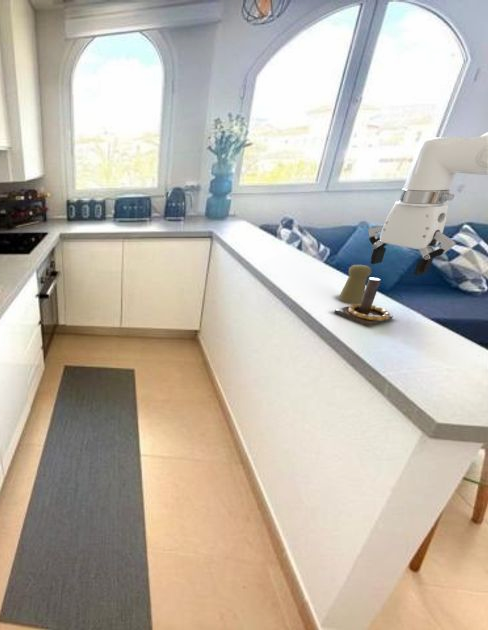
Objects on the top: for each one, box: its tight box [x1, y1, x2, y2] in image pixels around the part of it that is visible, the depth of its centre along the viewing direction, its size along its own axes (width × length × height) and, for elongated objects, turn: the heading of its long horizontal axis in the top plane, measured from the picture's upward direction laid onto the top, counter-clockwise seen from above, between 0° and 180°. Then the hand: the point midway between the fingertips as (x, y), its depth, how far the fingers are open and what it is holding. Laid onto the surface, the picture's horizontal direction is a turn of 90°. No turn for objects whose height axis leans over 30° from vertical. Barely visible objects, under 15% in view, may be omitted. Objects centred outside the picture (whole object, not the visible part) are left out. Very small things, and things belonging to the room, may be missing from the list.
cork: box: [338, 264, 372, 305], centre depth 104 cm, size 6×6×11 cm
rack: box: [334, 277, 394, 327], centre depth 94 cm, size 9×9×11 cm
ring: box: [348, 303, 391, 321], centre depth 95 cm, size 9×9×1 cm
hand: (396, 268), depth 86 cm, fingers open, 9 cm apart
